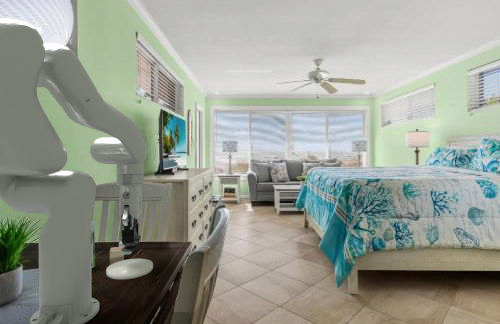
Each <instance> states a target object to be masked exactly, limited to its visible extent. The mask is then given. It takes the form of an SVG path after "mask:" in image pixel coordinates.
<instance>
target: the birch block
mask: <svg viewBox="0 0 500 324" xmlns="http://www.w3.org/2000/svg"><path fill="white" fill-rule="evenodd" d="M122 248H123V247H119V246H118V247H110V250H109V265H111V264H113V263H116V262H119V261H122V260H125V255H124V251H121V249H122Z"/></svg>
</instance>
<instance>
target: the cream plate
mask: <svg viewBox="0 0 500 324" xmlns="http://www.w3.org/2000/svg"><path fill="white" fill-rule="evenodd" d="M153 269H154V263H153V261H152V260H150V259H146V258H129V259H124V260H122V261H119V262H116V263H112V264H109V266H107V267H106V270H105V273H106V277H108V278H110V279H114V280H131V279H136V278H137V279H138V278H140V277H143V276H145V275H148V274H149V273H151V272H152V270H153Z"/></svg>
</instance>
